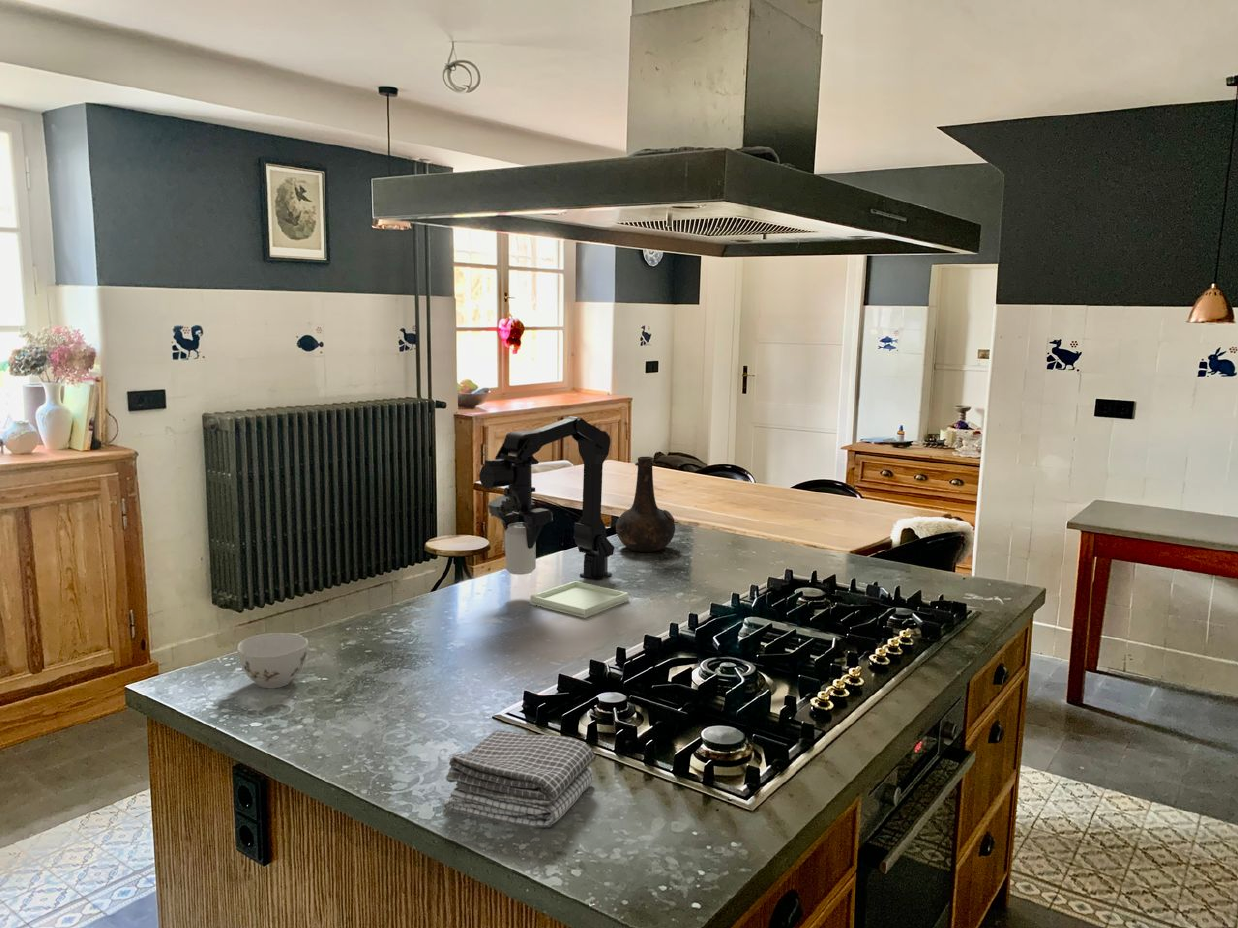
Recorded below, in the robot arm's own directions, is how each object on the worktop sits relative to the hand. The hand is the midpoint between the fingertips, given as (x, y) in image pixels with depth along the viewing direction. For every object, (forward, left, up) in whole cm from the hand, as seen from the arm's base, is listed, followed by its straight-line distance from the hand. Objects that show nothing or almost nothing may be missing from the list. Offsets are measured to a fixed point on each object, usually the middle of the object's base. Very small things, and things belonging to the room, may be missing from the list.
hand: (520, 545), depth 231 cm
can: (0, 0, -7) cm, 7 cm away
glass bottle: (-59, -3, -13) cm, 60 cm away
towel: (+73, +67, -13) cm, 100 cm away
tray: (-5, +15, -13) cm, 20 cm away
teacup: (+69, +2, -13) cm, 70 cm away
